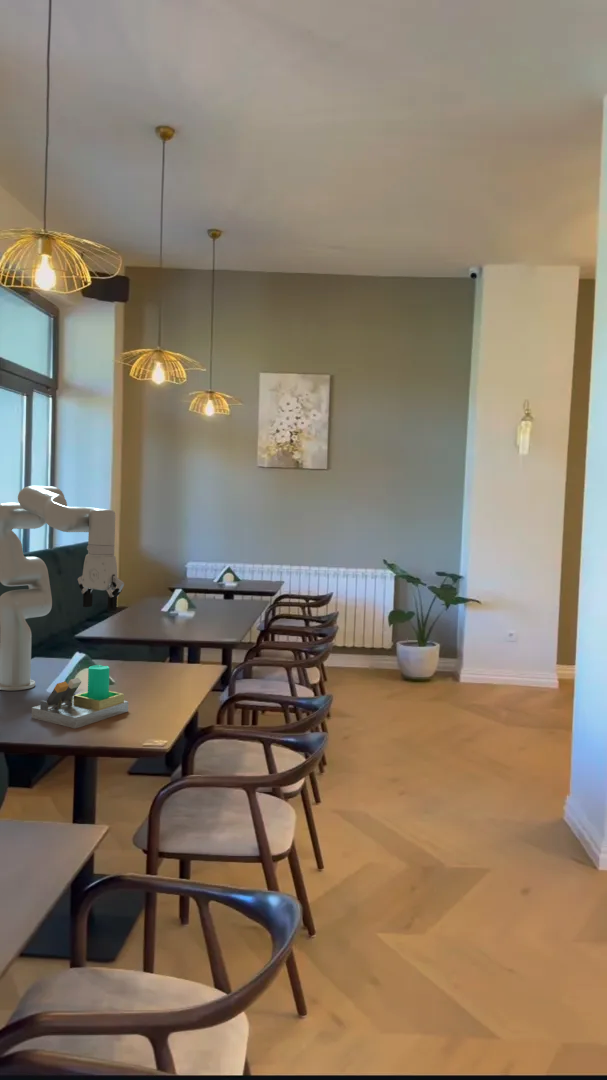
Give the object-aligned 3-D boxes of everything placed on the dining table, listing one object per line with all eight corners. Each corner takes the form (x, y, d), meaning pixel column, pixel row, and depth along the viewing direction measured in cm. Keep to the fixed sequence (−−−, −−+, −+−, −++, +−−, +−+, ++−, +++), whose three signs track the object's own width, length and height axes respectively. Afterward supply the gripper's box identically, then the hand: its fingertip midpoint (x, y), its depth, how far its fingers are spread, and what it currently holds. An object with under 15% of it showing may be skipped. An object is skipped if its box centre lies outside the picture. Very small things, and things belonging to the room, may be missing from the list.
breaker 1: (43, 705, 215) (57, 683, 212) (51, 703, 217) (65, 681, 215) (46, 709, 214) (60, 687, 211) (55, 707, 217) (69, 685, 214)
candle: (102, 706, 219) (103, 664, 219) (83, 704, 221) (84, 663, 220) (112, 700, 225) (113, 660, 225) (93, 698, 227) (94, 659, 226)
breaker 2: (56, 701, 219) (70, 679, 216) (64, 699, 222) (78, 677, 219) (60, 705, 218) (73, 683, 216) (68, 703, 221) (81, 681, 218)
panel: (31, 717, 216) (32, 698, 215) (85, 702, 234) (86, 684, 234) (75, 728, 208) (75, 708, 207) (128, 711, 226) (128, 693, 226)
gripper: (70, 549, 225) (68, 606, 226) (114, 553, 217) (112, 613, 218) (88, 548, 232) (87, 604, 232) (132, 552, 223) (130, 610, 224)
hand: (99, 608), depth 225 cm, fingers open, 9 cm apart
